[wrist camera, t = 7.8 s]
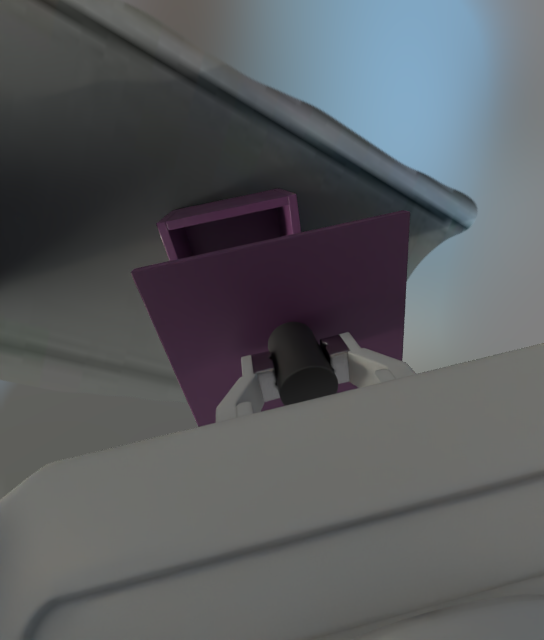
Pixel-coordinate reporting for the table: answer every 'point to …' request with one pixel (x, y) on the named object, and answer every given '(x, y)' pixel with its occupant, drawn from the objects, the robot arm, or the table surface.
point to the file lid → (280, 307)
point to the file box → (229, 223)
